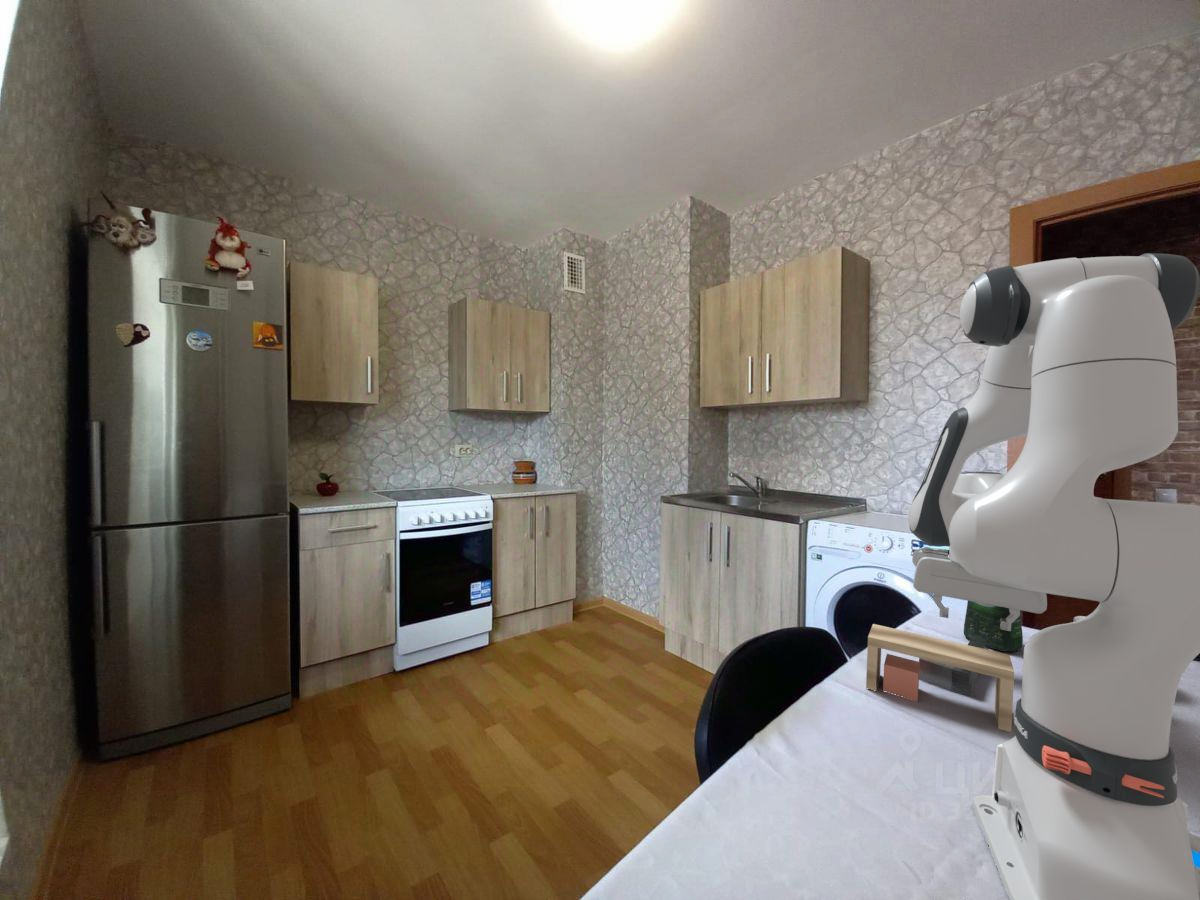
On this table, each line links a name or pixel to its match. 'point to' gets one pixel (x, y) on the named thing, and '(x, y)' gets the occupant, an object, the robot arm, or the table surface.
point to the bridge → (945, 662)
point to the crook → (952, 671)
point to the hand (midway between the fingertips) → (973, 622)
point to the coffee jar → (993, 626)
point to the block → (901, 676)
